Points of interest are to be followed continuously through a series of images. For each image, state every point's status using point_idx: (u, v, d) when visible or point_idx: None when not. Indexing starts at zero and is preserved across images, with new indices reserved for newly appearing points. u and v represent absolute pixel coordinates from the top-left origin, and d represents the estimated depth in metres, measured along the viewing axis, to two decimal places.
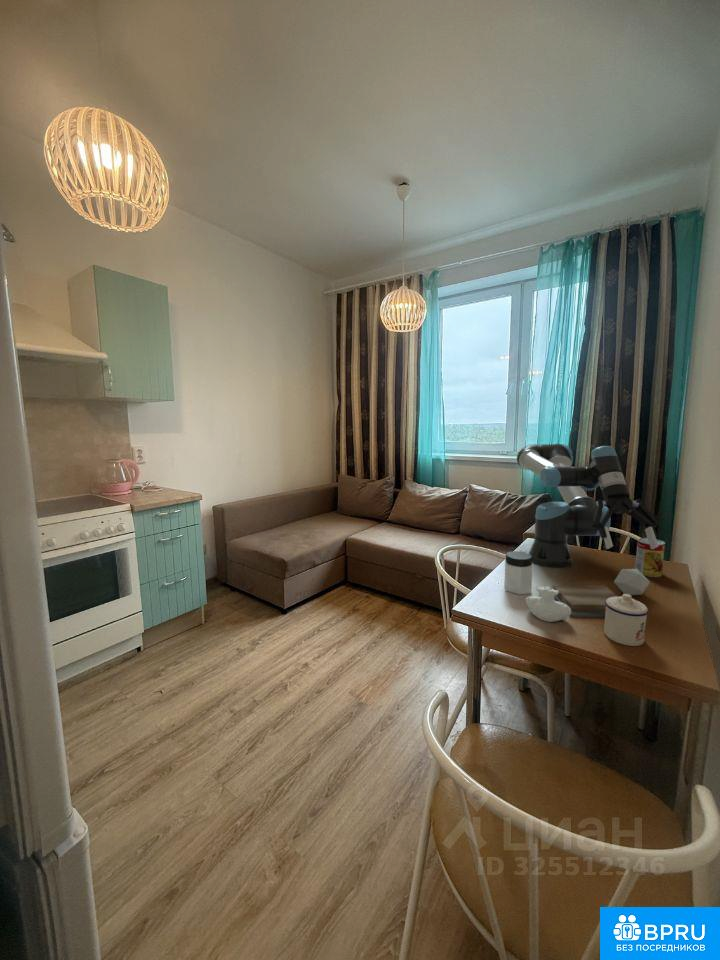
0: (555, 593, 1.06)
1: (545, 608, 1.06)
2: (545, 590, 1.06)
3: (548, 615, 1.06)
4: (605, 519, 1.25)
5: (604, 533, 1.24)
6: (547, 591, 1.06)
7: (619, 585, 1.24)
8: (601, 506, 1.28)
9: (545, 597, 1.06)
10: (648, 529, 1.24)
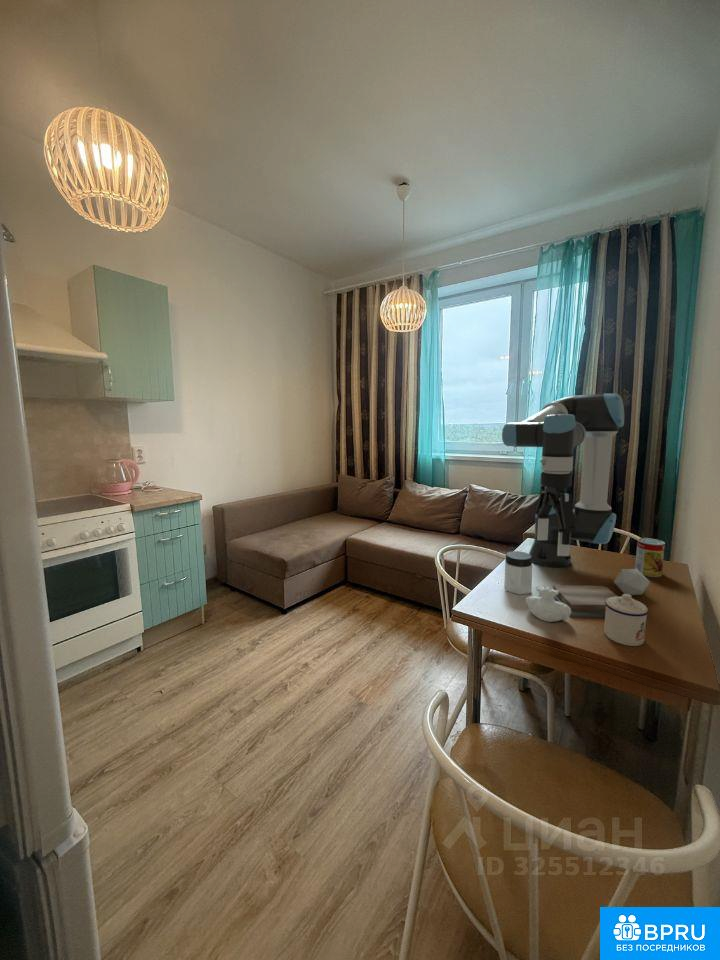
0: (555, 593, 1.06)
1: (545, 608, 1.06)
2: (545, 590, 1.06)
3: (548, 615, 1.06)
4: (540, 510, 1.12)
5: None
6: (547, 591, 1.06)
7: (619, 585, 1.24)
8: (540, 494, 1.11)
9: (545, 597, 1.06)
10: None
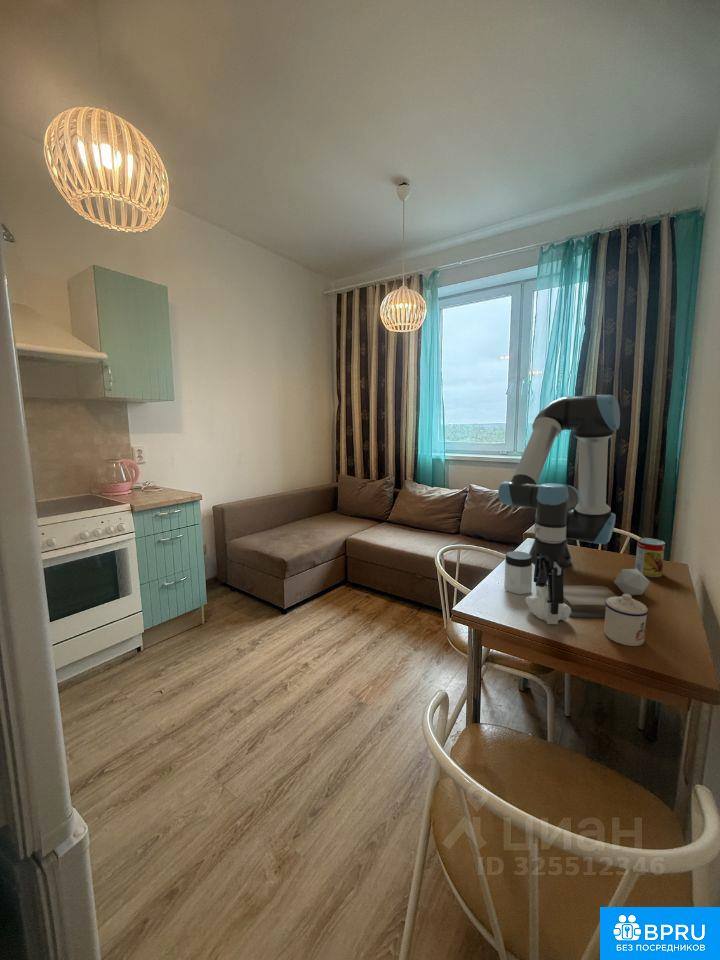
0: None
1: (545, 608, 1.06)
2: (545, 590, 1.06)
3: None
4: (537, 578, 1.13)
5: None
6: (547, 591, 1.06)
7: (619, 585, 1.24)
8: (536, 560, 1.14)
9: (545, 597, 1.06)
10: None
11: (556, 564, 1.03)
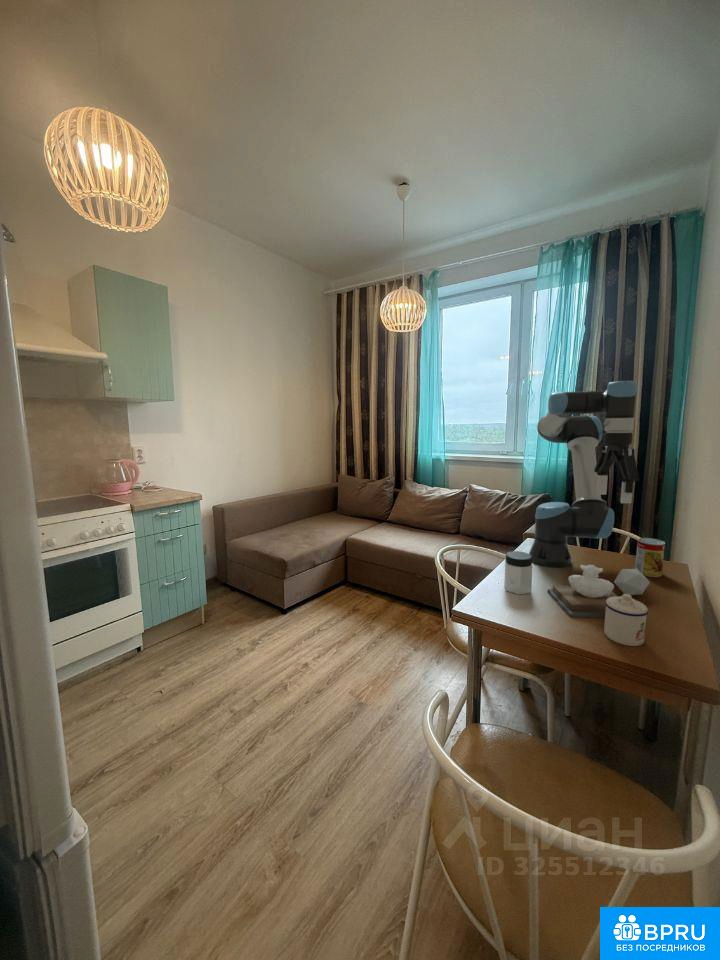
0: (599, 570, 1.12)
1: (590, 585, 1.13)
2: (590, 568, 1.13)
3: (592, 591, 1.13)
4: (600, 467, 1.28)
5: None
6: (592, 569, 1.12)
7: (619, 585, 1.24)
8: (601, 454, 1.27)
9: (590, 574, 1.12)
10: None
11: None
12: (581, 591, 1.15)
